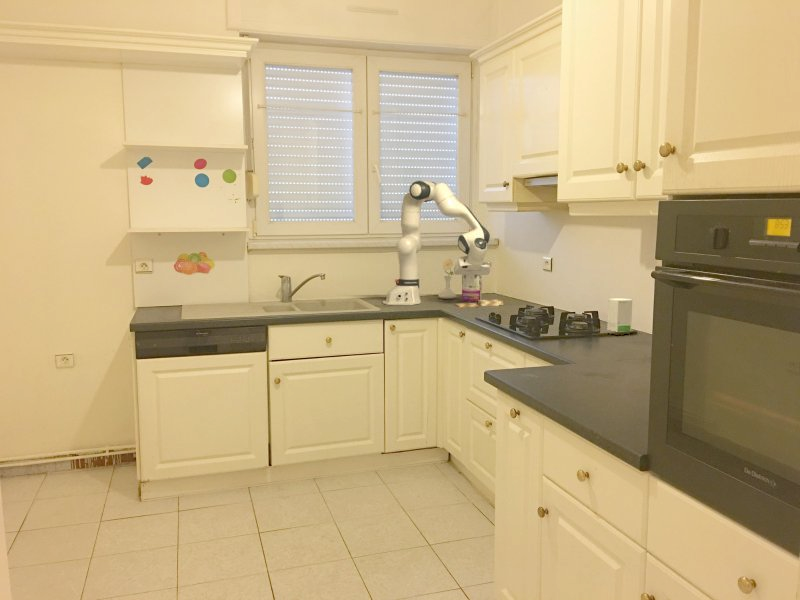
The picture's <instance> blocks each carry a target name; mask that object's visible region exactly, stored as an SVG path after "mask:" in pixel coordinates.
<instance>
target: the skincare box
mask: <svg viewBox="0 0 800 600" xmlns="http://www.w3.org/2000/svg"><path fill="white" fill-rule="evenodd" d="M607 307H608V308H607V327H606V331H607V330H611V331H616V332H619V331H631V332H632V317H633V316H632V312H633V311H632V310H633V299H629V298H619V297H618V298H608V305H607Z"/></svg>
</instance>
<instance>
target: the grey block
mask: <svg viewBox="0 0 800 600" xmlns="http://www.w3.org/2000/svg"><path fill="white" fill-rule="evenodd" d="M474 277H475V275H466V278H465V286H474Z"/></svg>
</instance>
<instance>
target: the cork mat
mask: <svg viewBox="0 0 800 600" xmlns="http://www.w3.org/2000/svg"><path fill="white" fill-rule="evenodd" d="M454 304H455V305H454V306H456V305H457V306H456V307H458V306H459V307H458V308H477V307H478V308H480V307H481V306H480V305H478V303H475V302H472V303H471V302H467V303H465V302H464V303H463V302H462V303H459V302H458V303H457V302H456V303H454ZM475 306H476V307H475Z"/></svg>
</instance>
